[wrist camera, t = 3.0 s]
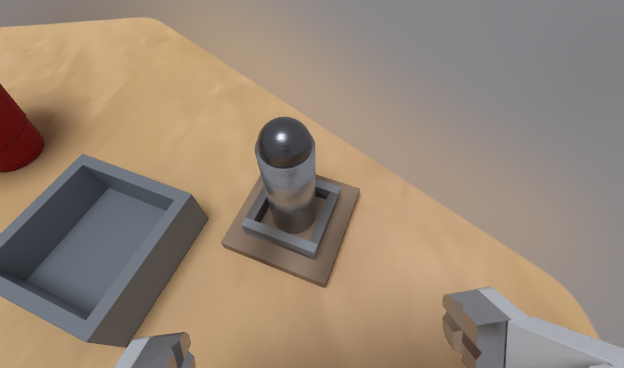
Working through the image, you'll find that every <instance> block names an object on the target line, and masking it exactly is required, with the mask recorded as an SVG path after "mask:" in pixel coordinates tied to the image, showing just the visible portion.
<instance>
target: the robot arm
mask: <svg viewBox="0 0 624 368" xmlns="http://www.w3.org/2000/svg"><path fill="white" fill-rule="evenodd" d="M443 307H444V308H445V310H446V311H447V312H446V314H445V315H444V317H443V330H444V333H445V337H446V339H447V341H448V343H449V344H450V346H451V347H452V349H453V350H454V351H456V352H458V353H460V354H462V362H463V364H464V365H465V366H466V368H624V349H623V348H620V347H617V346H615V345H612V344H609V343H606V342H603V341H601V340H598V339H595V338H592V337H589V336H587V335H584V334H581V333H578V332H576V331H573V330H570V329H567V328H564V327H562V326H559V325H556V324H553V323H550V322H548V321H545V320H542V319H539V318H536V317H528V316H527V315H526V314H525V313H523V312H522V311H521V310H520V309H518V308H517V307H516V306H515V305H514V304H512V303H511V302H510V301H509V300H507V299H506V298H505V297H504V296H502V295H501V294H500V293H499V292H497V291H496V290H495V289H494V288H491V287H484V288H479V289H474V290H470V291H464V292H457V293H451V294H444V296H443ZM190 345H191V341H190V337H189V334H188V333H186V332H182V333H173V334H165V335H157V336H153V337H152V336H150V337H143V338H136V339H135V340H133V341H132V342H131V343H130V344H129V346H128V347H127V349H126V350H125V352H124V353H123V354H122V356H121V357H120V359H119V360H118V362H117V363H116V365H115V366H114V367H113V368H196V366H195V359H194V356H193V355H192V354H191V353H190V352H189V351H188V350H189V347H190Z"/></svg>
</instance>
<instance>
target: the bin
mask: <svg viewBox="0 0 624 368" xmlns="http://www.w3.org/2000/svg"><path fill="white" fill-rule="evenodd" d="M207 220H208V217H207V216H206V215H205V213H204V212H203V210H202V209H201V207H200V206H199V204H198V203H197V202H196V200H195V199H194V197H193V196H192V194H190V193H187V192H184V191H182V190H179V189H176V188H173V187H171V186H168V185H165V184H163V183H160V182H157V181H155V180H152V179H149V178H147V177H144V176H141V175H138V174H136V173H133V172H130V171H128V170H125V169H122V168H120V167H117V166H114V165H112V164H109V163H106V162H103V161H101V160H98V159H95V158H93V157H90V156H87V155H85V154H82V155H81V156H80V157H79V158H78V159H77V160H75V161H74V162H73V163H72V164H71V165H70V166H69V167H68V168H67V169H66V170H65V171H64V172H63V173H62V174H61V175H60V176H59V177H58V178H57V179H56V180H55V181H54V182H53V183H52V184H51V185H50V186H49V187H48V188H47V189H46V190H45V191H44V192H43V193H42V194H41V195H40V196H39V197H38V198H37V199H36V200H35V201H34V202H33V203H32V204H31V205H30V206H29V207H28V208H27V209H26V210H24V211H23V212H22V213H21V214H20V215H19V216H18V217H17V218H16V219H15V220H14V221H13V222H12V223H11V224H10V225H9V226H8V227H7V228H6V229H5V230H4V231H3V232H2V233H1V234H0V296H1V297H3V298H5V299H7V300H9V301H10V302H12V303H14V304H16V305H18V306H20V307H22V308H23V309H25V310H27V311H29V312H31V313H33V314H35V315H36V316H38V317H40V318H42V319H44V320H46V321H48V322H49V323H51V324H53V325H55V326H57V327H59V328H61V329H62V330H64V331H66V332H68V333H70V334H72V335H74V336H75V337H77V338H79V339H81V340H83V341H85V342H88V343H96V344H103V345H111V346H118V347H127V345H128V343H129V342H130V340H131V339H132V337H133V336H134V334H135V332H136V331H137V329H138V328H139V326H140V325H141V323H142V322H143V320H144V318H145V317H146V315H147V314H148V312H149V311H150V309H151V308H152V306H153V304H154V303H155V301H156V300H157V298H158V297H159V295H160V293H161V292H162V290H163V289H164V287H165V286H166V284H167V283H168V281H169V279H170V278H171V276H172V275H173V273H174V272H175V270H176V269H177V267H178V265H179V264H180V262H181V261H182V259H183V258H184V256H185V254H186V253H187V251H188V250H189V248H190V247H191V245H192V244H193V242H194V240H195V239H196V237H197V236H198V234H199V233H200V231H201V230H202V228H203V226H204V225H205V223H206V222H207Z"/></svg>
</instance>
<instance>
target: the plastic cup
mask: <svg viewBox="0 0 624 368" xmlns="http://www.w3.org/2000/svg"><path fill="white" fill-rule="evenodd" d="M43 145H44V143H43V139H42V137H41V136H40V133H39V132H38V131H37V130H36V128H35V127H34V126H33V125H32V123H31V122H30V121H29V120H28V119H27V117H26V114H25V113H24V112H23V111H22V110H21V108H20V107H19V106H18V105H17V104H16V102H15V101H14V100H13V99H12V97H11V96H10V95H9V94H8V93H7V91H6V90H5V89H4V88H3V86H2V85H1V84H0V172H7V171H13V170H16V169H19V168H21V167H23V166H26V165H27V164H28V163H30V162H31V161H33V160H34V159H35V158H36V157H37V156H38V155H39V153H40V152H41V151H42V148H43Z"/></svg>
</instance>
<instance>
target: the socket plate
mask: <svg viewBox="0 0 624 368" xmlns="http://www.w3.org/2000/svg"><path fill="white" fill-rule="evenodd" d="M359 192H360V189H359V188H356V187H353V186H350V185H346V184H343V183H340V182H337V181H334V180H331V179H328V178H325V177H322V176H319V175H316V174H315V219H314V222H313V224H312V225H311V227H310V228H309V229H307V230H306V231H304V232H302V233H299V234H289V233H286V232H283V231H281V230H280V229H279V228H278V227H277V226H276V225H275V223H274V220H273V216H272V213H271V209H270V205H269V202H268V198H267V194H266V191H265V187H264V183H263V180H262V176H260V177H259V179H258V181H257V182H256V184H255V186H254V187H253V189H252V191H251V193H250V194H249V196H248V198H247V199H246V201H245V203H244V204H243V206H242V208H241V210H240V211H239V213H238V215H237V216H236V218H235V220H234V221H233V223H232V225H231V227H230V228H229V230H228V232H227V233H226V235H225V237H224V238H223V240H222V242H221V244H222V245H223V246H224V248H227V249H229V250H232V251H234V252H237V253H239V254H242V255H244V256H247V257H249V258H252V259H254V260H257V261H259V262H262V263H264V264H266V265H269V266H271V267H274V268H276V269H279V270H281V271H284V272H286V273H289V274H291V275H294V276H296V277H299V278H301V279H304V280H306V281H309V282H311V283H314V284H316V285H318V286H321V287H323V288H325V287H326V284H327V281H328V278H329V276H330V273H331V270H332V267H333V264H334V262H335V259H336V256H337V253H338V251H339V248H340V245H341V242H342V240H343V237H344V234H345V231H346V229H347V226H348V223H349V220H350V217H351V215H352V212H353V209H354V206H355V204H356V201H357V198H358V195H359Z"/></svg>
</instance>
